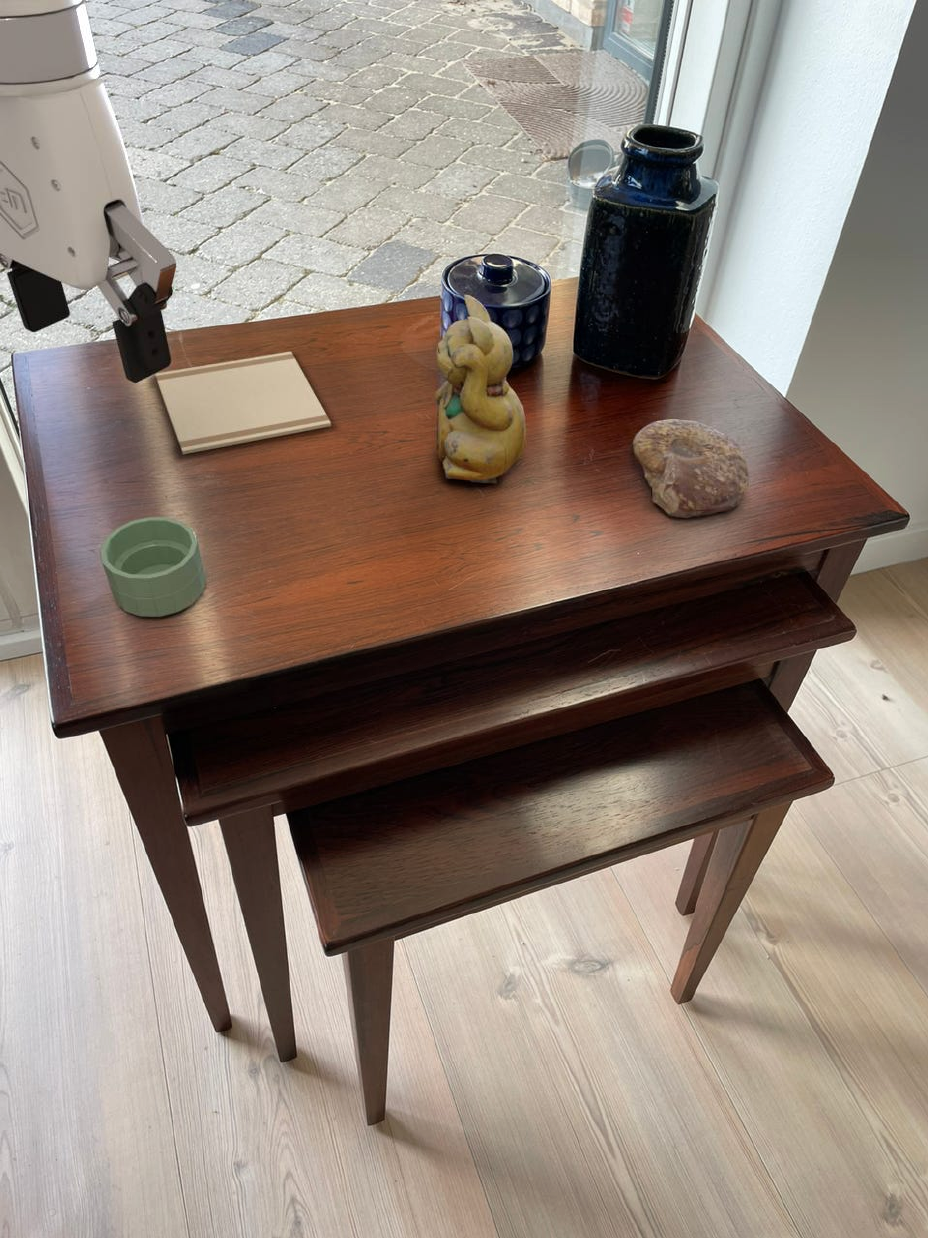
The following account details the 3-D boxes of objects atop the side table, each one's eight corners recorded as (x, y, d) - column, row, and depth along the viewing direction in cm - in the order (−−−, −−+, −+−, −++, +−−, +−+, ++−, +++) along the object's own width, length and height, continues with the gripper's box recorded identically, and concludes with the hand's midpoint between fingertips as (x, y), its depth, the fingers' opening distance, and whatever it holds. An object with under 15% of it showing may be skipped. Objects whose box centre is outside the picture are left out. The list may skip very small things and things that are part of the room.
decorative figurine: (428, 433, 86) (432, 282, 75) (513, 431, 87) (529, 281, 76) (439, 496, 79) (445, 340, 68) (530, 493, 80) (551, 339, 69)
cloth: (183, 454, 81) (182, 450, 81) (155, 376, 90) (154, 373, 90) (331, 426, 86) (331, 422, 85) (291, 354, 94) (291, 351, 94)
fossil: (764, 517, 77) (668, 473, 74) (726, 553, 81) (633, 512, 77) (743, 425, 85) (656, 382, 82) (709, 461, 89) (625, 421, 86)
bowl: (122, 631, 66) (107, 587, 63) (108, 572, 70) (94, 528, 67) (214, 608, 68) (205, 564, 65) (196, 552, 72) (186, 509, 69)
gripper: (-152, 22, 47) (-37, 327, 59) (66, 96, 40) (144, 421, 53) (-24, -1, 51) (58, 287, 63) (191, 63, 45) (236, 369, 57)
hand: (97, 347), depth 58 cm, fingers open, 9 cm apart
